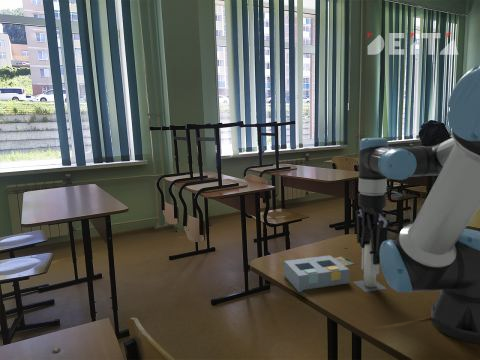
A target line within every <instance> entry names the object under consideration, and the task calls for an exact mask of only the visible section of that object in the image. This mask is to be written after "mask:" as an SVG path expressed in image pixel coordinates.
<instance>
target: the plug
mask: <svg viewBox="0 0 480 360" xmlns="http://www.w3.org/2000/svg"><path fill="white" fill-rule="evenodd" d="M371 251H372V248H371V243H370V244H365V253H364V270H363V280H364V285H365V286H367V287H375V286H376V281H377V274H375V275H370V274H369V261H370V252H371Z"/></svg>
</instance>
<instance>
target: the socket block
mask: <svg viewBox="0 0 480 360" xmlns="http://www.w3.org/2000/svg"><path fill="white" fill-rule="evenodd" d="M334 258H335V257H334V256H332V255H321V256H314V257H305V258H304V257H303V258H297V259H290V260H289V259H288V260H284V261H283V264H284V265H283V267H284V268H283V275H284V277H285V278H286V279H287V280H288V282H289V283H290V284H291V285H292V286H293V287H294V288H295V289H296V291H298V293H303V292H304V291H306V290H311V289H318V288H319V289H320V288H324V287H325V288H326V287H331V286H338V285H346V284H350V269H349V268H348V266H344V265H343V264H341V263H340V262H339V261H337V260H336V259H334Z"/></svg>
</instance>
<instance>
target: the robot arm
mask: <svg viewBox="0 0 480 360" xmlns="http://www.w3.org/2000/svg"><path fill="white" fill-rule="evenodd" d="M447 103H448V104H447V107H448V108H449V111H448V112H446V114H447V121H448V125H449V127H450V129H451V131H450V132H451V136H452V137H451V138H449V139H446V140H444V141H443V142H441V143H438V144H436V145H431V146H409V147H408V146H406V147H403V146H402V147H390V146H389V140H388V139H387V138H385V137H365V138H362V139H360V141H359V148H358V149H359V150H358V187H357V188H358V189H357V190H358V192H359V193H358V194H357V195H358V196H357V197H358V198H357V199H358V200H357V202H358V206H359V207H360V209H359V210H355V217H356V243H357V244H360V245H359V246H360V247H361V267H360V269H361V270H362V271H364V253H365V244H371V248H372V251H371V252H370V261H369V274H370V275H375V274H376V275H380V268H381V271H382V274H383V277H384V280H385V281H386V284H388V286H389V287H390V288H391V289H392V290H394V291H395V292H397V293H410V294H412V293H418V292H429V291H439V294H438V295H437V297H436V300H435V302H434V304H433V306H432V308H431V312H430V313H431V315H430V321H431V323H432V325H433V326H434V327H435V328H436V329H437V330H439V332H442V334H445V335H447V336H449V337H451V338H454V339H456V340H458V341H463V342H466V343H470V344H477V345H480V231H479V230H475V229H471V228H467V227H468V226H469V224H470V223H471V221H472V220H473V218H474V217H475V215H476V214H477V213H478V211H479V210H480V64H479V65H476V66H474V67H472V68H471V69H469V70H468V71H466V73H465V74H463V76H462V77H460V79H459V80H458V81H457V83H456V84H455V86H454V87H453V89H452V92H451V93H450V96H449V98H448V102H447ZM426 176H427V177H428V176H429V177H430V176H437V178H436V180H435V182H434V183H433V185H432V187H431V189H430V191H429V193H428V195H427V197H426V199H425V200H424V203H423V205H422V206H421V208H420V210H419V212H418V214H417V216H416V218H415V219H414V221H413V223H409V224H407V225H405V226H404V227H403V228H402V229H401V230H400V231H399V234H398V236H397V238H396V239H388V229H389V226H390V224H391V223H390V220H389V219H385V217H384V212H383V209H384V208H386V206H387V194H386V192H387V183H388V182H387V179H390V180H398V181H400V180H401V181H403V180H407V179H408V178H410V177H411V178H412V177H414V178H415V177H426Z"/></svg>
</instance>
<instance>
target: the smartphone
mask: <svg viewBox="0 0 480 360" xmlns="http://www.w3.org/2000/svg"><path fill="white" fill-rule="evenodd" d="M333 258H334V259H336V260H337V261H339V262H340V263H341V264H343V265H344V266H345V267H348V266H354V265H356V263H354V262H352V261H351V260H349V259H348V258H345V257H343V256H342V255H341V256H337V257H333Z"/></svg>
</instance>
